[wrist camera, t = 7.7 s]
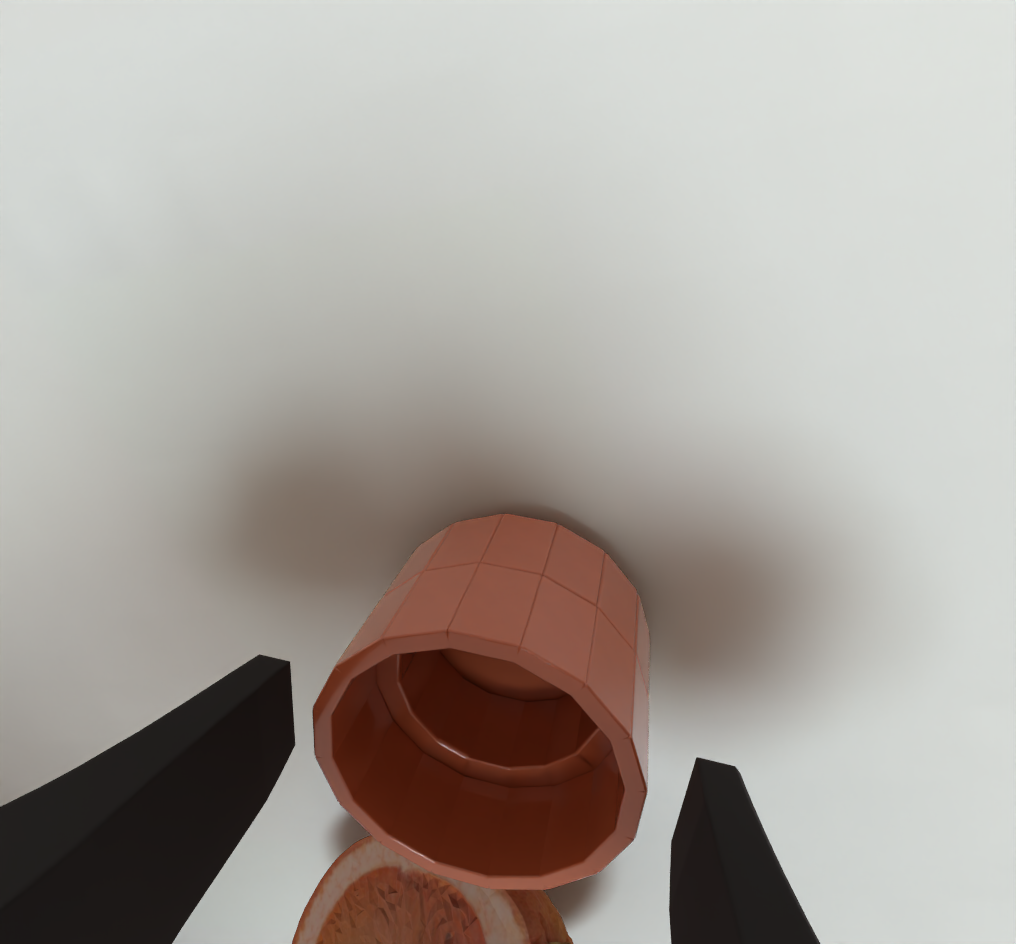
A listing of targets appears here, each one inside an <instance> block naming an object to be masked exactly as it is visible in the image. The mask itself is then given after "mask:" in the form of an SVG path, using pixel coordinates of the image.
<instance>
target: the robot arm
mask: <svg viewBox="0 0 1016 944" xmlns="http://www.w3.org/2000/svg"><path fill="white" fill-rule="evenodd" d="M294 746H295V734H294V718H293V701H292V685H291V669H290V662H289V661H285V660H280V659H276V658H272V657H268V656H263V655H258V656H256V657H255V658H253V659H252V660H250V661H248V662H247V663H245V664H244V665H242V666H240V667H239V668H237V669H236V670H234V671H233V672H231V673H230V674H228V675H227V676H225V677H223V678H222V679H220V680H219V681H217V682H216V683H214V684H213V685H211V686H210V687H208V688H207V689H205V690H203V691H202V692H200V693H199V694H197V695H196V696H194V697H193V698H191V699H190V700H188V701H186V702H185V703H183V704H182V705H180V706H179V707H177V708H175V709H174V710H172V711H171V712H169V713H167V714H166V715H164V716H163V717H161V718H159V719H158V720H156V721H155V722H153V723H152V724H150V725H148V726H147V727H145V728H144V729H142V730H140V731H139V732H137V733H135V734H134V735H132V736H130V737H128V738H127V739H125V740H123V741H122V742H120V743H118V744H116V745H115V746H113V747H111V748H110V749H108V750H106V751H104V752H103V753H101V754H99V755H97V756H96V757H94V758H92V759H91V760H89V761H87V762H85V763H84V764H82V765H80V766H79V767H77V768H75V769H73V770H71V771H69V772H68V773H66V774H64V775H62V776H60V777H58V778H57V779H55V780H53V781H51V782H49V783H47V784H45V785H43V786H41V787H39V788H38V789H36V790H33V791H31V792H29V793H27V794H25V795H23V796H21V797H19V798H17V799H15V800H13V801H11V802H9V803H7V804H5V805H3V806H1V807H0V944H172V943H173V941H174V940H175V938H176V936H177V935H178V933H179V932H180V930H181V928H182V927H183V925H184V924H185V922H186V921H187V919H188V918H189V916H190V915H191V913H192V912H193V910H194V909H195V907H196V906H197V904H198V903H199V901H200V900H201V898H202V897H203V895H204V894H205V892H206V891H207V889H208V888H209V886H210V885H211V883H212V882H213V880H214V879H215V878H216V876H217V875H218V873H219V872H220V870H221V869H222V867H223V866H224V864H225V863H226V861H227V860H228V858H229V857H230V855H231V854H232V852H233V851H234V849H235V848H236V846H237V845H238V843H239V842H240V840H241V839H242V837H243V836H244V834H245V833H246V831H247V830H248V828H249V827H250V825H251V824H252V822H253V821H254V819H255V818H256V816H257V814H258V813H259V811H260V810H261V808H262V807H263V805H264V804H265V802H266V801H267V799H268V797H269V795H270V793H271V791H272V789H273V787H274V786H275V784H276V782H277V780H278V778H279V776H280V774H281V772H282V770H283V768H284V766H285V764H286V762H287V760H288V758H289V756H290V754H291V752H292V750H293V748H294ZM669 912H670V929H671V944H820V942H819V940H818V938H817V937H816V935H815V933H814V931H813V929H812V927H811V925H810V923H809V922H808V920H807V918H806V916H805V914H804V912H803V910H802V908H801V906H800V904H799V902H798V900H797V898H796V896H795V894H794V892H793V890H792V888H791V886H790V884H789V882H788V880H787V878H786V876H785V874H784V872H783V870H782V868H781V865H780V863H779V861H778V859H777V857H776V855H775V853H774V851H773V848H772V846H771V844H770V842H769V840H768V838H767V835H766V833H765V831H764V829H763V827H762V824H761V822H760V820H759V817H758V815H757V813H756V811H755V808H754V806H753V804H752V801H751V799H750V796H749V794H748V792H747V789H746V787H745V784H744V782H743V779H742V777H741V774H740V772H739V771H738V770H737V768H736V767H735V766H731V765H727V764H723V763H719V762H714V761H710V760H706V759H702V758H696V761H695V764H694V768H693V771H692V774H691V778H690V781H689V784H688V788H687V791H686V794H685V798H684V801H683V804H682V808H681V811H680V814H679V818H678V821H677V824H676V828H675V831H674V835H673V838H672V841H671V867H670V904H669Z"/></svg>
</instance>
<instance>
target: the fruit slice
mask: <svg viewBox="0 0 1016 944" xmlns="http://www.w3.org/2000/svg"><path fill="white" fill-rule="evenodd" d="M292 944H573V942H572V939H571V938H570V937H569V935H568V933H567V931H566V928H565V925H564V923H563V921H562V918H561V916H560V914H559V912H558V911H557V909H556V908H555V907H554V905H553V904H552V902H551V900H550V899H549V897H548V896H547V895H546V893H545V892H544V891H543V890H506V889H490V888H489V889H486V888H483V887H479V886H476V885H472V884H469V883H465V882H462V881H458V880H455V879H451V878H448V877H444V876H441V875H437V874H433V873H432V871H431V872H429V871H427V870H425V869H423V868H422V867H420V866H418V865H417V864H415V863H413V862H411V861H410V860H408V859H406V858H404V857H403V856H401V855H399V854H397V853H396V852H394V851H392V850H390V849H389V848H387V847H385V846H383V845H382V844H380V842H377V841H376V840H375V839H374V838H373V837H372V836H368V837H366V838H363V839H361V840H359V841H357V842H356V843H354V844H353V845H352V846H350V847H349V848H348V849H347V850H346V851H344V852H343V853H342V854H341V855H340V856H339V857H338V858H337V859H336V860H335V862H334V863H333V864H332V865H331V867H330V868H329V869H328V871H327V872H326V873H325V875H324V876H323V878H322V879H321V881H320V882H319V884H318V886H317V887H316V889H315V891H314V893H313V894H312V896H311V898H310V900H309V902H308V904H307V905H306V907H305V909H304V912H303V914H302V916H301V918H300V921H299V924H298V927H297V930H296V933H295V935H294V938H293V941H292Z"/></svg>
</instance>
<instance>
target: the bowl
mask: <svg viewBox="0 0 1016 944" xmlns="http://www.w3.org/2000/svg"><path fill="white" fill-rule="evenodd" d="M649 661H650V634H649V630H648V626H647V622H646V618H645V614H644V611H643V607H642V603H641V599H640V596H639V595H638V593H637V590H636V588H635V587H634V586H633V585H632V584H631V582H630V581H629V580H628V579H627V577H626V576H625V575H624V574H623V572H622V571H621V570H620V569H619V567H618V566H617V565H616V564H615V562H614V561H613V560H612V559H611V557H610V556H609V555H608V554H607V553H605V552H604V550H603V549H601V548H599V547H597V546H596V545H594V544H592V543H591V542H589V541H587V540H586V539H584V538H582V537H580V536H579V535H577V534H575V533H574V532H572V531H570V530H568V529H567V528H565V527H563V526H562V525H557V523H555V522H550V521H544V520H539V519H534V518H528V517H523V516H518V515H512V514H507V513H506V514H504V515H503V514H497V515H492V516H486V517H481V518H475V519H470V520H464V521H459V522H455V523H453V524H450V525H449V526H447V527H446V528H445V529H443V530H442V531H440V532H439V533H437V534H436V535H434V536H433V537H431V538H430V539H428V540H427V541H425V542H424V543H422V544H421V545H419V546H418V547H417V549H416V550H415V551H414V552H413V553H412V555H411V556H410V558H409V559H408V561H407V562H406V564H405V565H404V567H403V568H402V569H401V571H400V572H399V574H398V575H397V577H396V578H395V580H394V581H393V583H392V584H391V585H390V587H389V588H388V590H387V591H386V593H385V594H384V596H383V597H382V599H381V600H380V601H379V602H378V604H377V605H376V607H375V608H374V610H373V611H372V613H371V614H370V615H369V617H368V618H367V620H366V621H365V623H364V624H363V626H362V627H361V629H360V630H359V631H358V633H357V634H356V636H355V637H354V639H353V640H352V642H351V643H350V644H349V646H348V647H347V649H346V650H345V652H344V653H343V655H342V656H341V658H340V659H339V660H338V662H337V663H336V665H335V666H334V668H333V670H332V672H331V674H330V676H329V677H328V679H327V681H326V683H325V685H324V687H323V689H322V691H321V692H320V694H319V696H318V698H317V700H316V702H315V704H314V706H313V729H314V751H315V756H316V760H317V762H318V764H319V766H320V768H321V770H322V772H323V774H324V775H325V777H326V779H327V781H328V783H329V785H330V787H331V789H332V791H333V793H334V795H335V797H336V799H337V801H338V802H339V803H340V805H341V806H342V807H343V808H344V809H345V810H346V811H347V812H348V813H349V814H350V815H351V816H352V817H353V818H354V819H355V820H356V821H357V822H358V823H359V824H360V825H361V826H362V827H363V828H364V829H365V830H366V831H367V832H368V833H369V834H370V835H371V836H372V837H373V838H374V839H375V840H376V841H377V842H380V844H382V845H383V846H385V847H387V848H389V849H390V850H392V851H394V852H396V853H397V854H399V855H401V856H403V857H404V858H406V859H408V860H410V861H411V862H413V863H415V864H417V865H418V866H420V867H422V868H423V869H425V870H427V871H429V872H431V871H432V873H433V874H437V875H441V876H444V877H448V878H451V879H455V880H458V881H462V882H465V883H469V884H472V885H476V886H479V887H483V888H486V889H489V888H490V889H506V890H547V889H552V888H555V887H558V886H561V885H564V884H567V883H571V882H574V881H577V880H580V879H583V878H586V877H589V876H592V875H595V874H597V873H598V872H601V871H602V870H603V869H604V868H605V867H606V866H607V865H608V864H609V863H610V862H611V861H612V860H613V859H614V858H615V857H617V856H618V855H619V854H620V853H621V852H622V851H623V850H624V849H625V848H626V847H627V846H628V845H629V844H630V843H631V842H632V841H633V840H634V838H635V837H636V834H637V830H638V826H639V822H640V818H641V815H642V811H643V807H644V803H645V799H646V796H647V789H648V736H649Z"/></svg>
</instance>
